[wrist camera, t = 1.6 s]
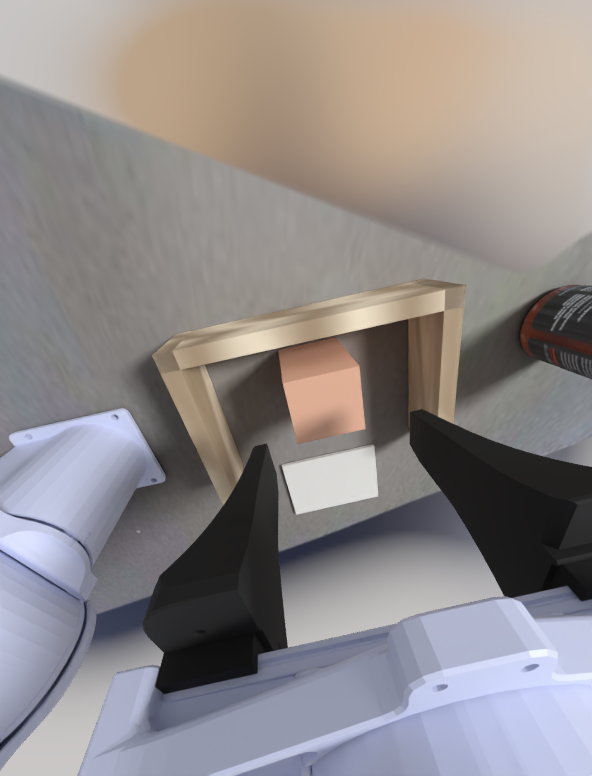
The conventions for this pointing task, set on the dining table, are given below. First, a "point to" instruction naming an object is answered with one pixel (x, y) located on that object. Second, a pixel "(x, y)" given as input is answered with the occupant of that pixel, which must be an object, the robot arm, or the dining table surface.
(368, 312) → the wooden u-shaped frame
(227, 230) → the dining table surface
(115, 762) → the robot arm
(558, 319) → the supplement bottle
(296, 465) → the pad
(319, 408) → the block
